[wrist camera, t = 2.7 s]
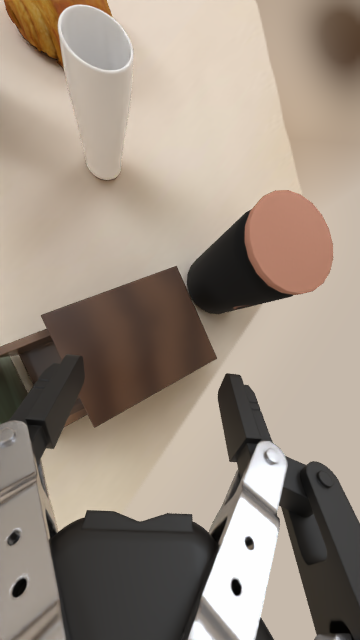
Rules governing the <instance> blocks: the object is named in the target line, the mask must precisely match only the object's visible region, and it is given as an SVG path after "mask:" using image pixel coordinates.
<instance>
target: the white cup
mask: <svg viewBox="0 0 360 640" xmlns="http://www.w3.org/2000/svg"><path fill="white" fill-rule="evenodd" d="M58 33H59V40H60V48H61V54H62V61H63V66H64V72H65V77H66V82H67V86H68V91H69V95H70V99H71V103H72V106H73V110H74V114H75V118H76V122H77V126H78V130H79V134H80V138H81V142H82V146H83V150H84V155H85V161H86V164H87V167H88V169H89V170H90V171H91V173H92V174H94V175H95V176H96V177H98V178H100V179H104V180H111V179H114V178H116V177H117V176H118V175H119V173H120V171H121V163H122V154H123V148H124V141H125V135H126V129H127V123H128V117H129V110H130V103H131V94H132V81H133V56H134V54H133V47H132V44H131V41H130V39H129V37H128V35H127V33H126V32H125V30H124V29H123V28H122V26H121V25H120V24H119V23H118V22H117V21H116V20H115V19H114V18H112V17H111V16H110V15H108V14H107V13H105V12H103V11H102V10H100V9H97V8H95V7H92V6H88V5H73V6H70V7H67V8H66V9H65V10H63V12H62V13H61V14H60V16H59V19H58Z"/></svg>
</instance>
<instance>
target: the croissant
mask: <svg viewBox="0 0 360 640" xmlns="http://www.w3.org/2000/svg"><path fill="white" fill-rule="evenodd" d="M4 2H5V6H6V10H7V12H8V15H9V17H10V18H11V20H12V21H13V23H15V24H16V26H17V28H18V29H19V31H20V33H21V34H22V36H23V37H24V38H25V39H26V40H28V41H29V43H30V44H32V45H33V46H35V47H37V49H38V50H39V52H41V51H43V52H45V53H47V55H48V56H50V57H52V58H56V59H58V62H57V63H59V64H60V65H61V66H62V67H63V68H64V66H63V61H62V54H61V48H60V40H59V33H58V19H59V16H60V14H61V13H62V12H63V10H65V9H66V8H67V7H70V6H73V5H88V6H92V7H95V8H97V9H100V10H102V11H103V12H105V13H107V14H108V15H110V16H111V17H112V15H111V11H110V9H109V6H108V3H107V0H4Z"/></svg>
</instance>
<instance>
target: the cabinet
mask: <svg viewBox="0 0 360 640" xmlns="http://www.w3.org/2000/svg"><path fill="white" fill-rule="evenodd" d="M41 317H42V319H43V321H44V324H45V326H46V328H47V330H48V332H49V334H50V336H51V338H52V340H53V343H54V345H55V347H56V349H57V351H58V353H59V355H60V357H61V359H62V360H63V358H64V357H65V356H66V355H67V354H70V355H79V356H82V357H83V362H84V371H85V379H84V383H83V386H82V388H81V391H80V393H79V397H80V399H81V401H82V403H83V406H84V408H85V410H86V412H87V414H88V416H89V418H90V420H91V422H92V424H93V427H94V428H95V427H97V426H99V425H100V424H102V423H104V422H106V421H107V420H109V419H111V418H113V417H114V416H116V415H118V414H120V413H122V412H123V411H125V410H127V409H129V408H130V407H132V406H134V405H136V404H137V403H139V402H141V401H143V400H144V399H146V398H148V397H150V396H151V395H153V394H155V393H157V392H159V391H160V390H162V389H164V388H166V387H167V386H169V385H171V384H173V383H174V382H176V381H178V380H180V379H181V378H183V377H185V376H187V375H189V374H190V373H192V372H194V371H196V370H197V369H199V368H201V367H203V366H204V365H206V364H208V363H210V362H211V361H213V360H215V359H217V357H216V355H215V353H214V350H213V348H212V346H211V343H210V341H209V339H208V337H207V334H206V332H205V330H204V327H203V325H202V323H201V321H200V318H199V316H198V314H197V312H196V309H195V307H194V305H193V302H192V300H191V298H190V296H189V293H188V291H187V289H186V286H185V284H184V282H183V280H182V277H181V275H180V273H179V271H178V268H177V266H175V267H172V268H169V269H167V270H164V271H161V272H158V273H155V274H153V275H150V276H147V277H144V278H142V279H139V280H136V281H133V282H131V283H128V284H125V285H122V286H120V287H117V288H114V289H111V290H109V291H106V292H103V293H100V294H98V295H95V296H92V297H89V298H87V299H84V300H81V301H78V302H76V303H73V304H70V305H67V306H65V307H62V308H59V309H56V310H54V311H51V312H48V313H45V314H43V315H41Z"/></svg>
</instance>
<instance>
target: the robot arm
mask: <svg viewBox="0 0 360 640" xmlns="http://www.w3.org/2000/svg"><path fill="white" fill-rule="evenodd" d="M84 379H85V371H84V362H83V357H82V356H79V355H70V354H67V355H66V356H65V357H64V358H63V360H62V361H61V363H60V364H58V363H53V364H52V365H51V366H49V367H48V368H47V369H45V370H44V371H43V373H42V374H41V376H40V377H39V379H38V381H36V383H35V384H34V386H33V388H32V389H31V390H30V391H29V393H28V394H27V396H26V397H25V399H24V400H23V402H22V403H21V404H20V406H19V407H18V409H17V410H16V412H15V413H14V414H13V416H12V417H11V418H10V420H9V421H8V422H5V423H3V424H1V425H0V640H274V639H273V637H272V635H271V634H270V632H269V630H268V629H267V627H266V625H265V624H264V622H263V620H262V618H261V617H260V616H261V611H262V607H263V602H264V597H265V593H266V588H267V583H268V579H269V574H270V570H271V565H272V560H273V556H274V551H275V546H276V542H277V537H278V532H279V527H280V520H279V518H278V517H277V509H278V505H279V506H281V508H282V511H283V515H284V518H285V522H286V526H287V529H288V533H289V537H290V540H291V543H292V547H293V551H294V555H295V558H296V562H297V565H298V569H299V573H300V576H301V580H302V583H303V587H304V590H305V594H306V598H307V601H308V605H309V609H310V612H311V616H312V619H313V623H314V627H315V630H316V634H317V636H316V637H315V639H314V640H360V523H359V521H358V519H357V517H356V515H355V513H354V511H353V509H352V507H351V505H350V503H349V501H348V499H347V497H346V495H345V493H344V491H343V489H342V487H341V485H340V483H339V481H338V479H337V477H336V476H335V475H334V474H333V472H332V471H331V470H330V469H328V468H327V467H326V466H325V465H323V464H321V463H319V462H314V461H313V462H310V463H309V464H307V465H304V464H302V463H299V462H298V461H295V460H293V459H291V458H288V457H286V456H285V455H284V453H283V452H282V451H281V449H280V448H279V447H278V446H277V445H275V444H274V443H273V442H272V440H271V437H270V434H269V432H268V429H267V426H266V423H265V421H264V419H263V415H262V413H261V411H260V407H259V405H258V402H257V399H256V396H255V393H254V392H253V391H252V390H251V388H250V387H249V386H248V385H244V384H243V381H242V378H241V376H240V375H236V374H226V375H225V377H224V379H223V381H222V384H221V386H220V388H219V391H218V402H219V408H220V413H221V419H222V423H223V429H224V435H225V440H226V445H227V451H228V456H229V461H230V462H237V464H238V470H237V472H236V474H235V477H234V479H233V481H232V484H231V486H230V488H229V490H228V493H227V495H226V498H225V500H224V502H223V504H222V507H221V509H220V510H219V512H218V514H217V516H216V517H215V519H214V521H213V524H212V525H211V528H210V530H209V532H207V531H206V530H205V529H204V528H203V527H201V526H200V525H198V524H197V523H195V522H192V514H169V513H167V514H164V515H161V516H158V517H155V518H151V519H148V520H145V521H141V522H139V521H136V520H134V519H131V518H129V517H126V516H124V515H121V514H119V513H117V512H114V511H91V510H87V512H86V515H85V518H81V519H79V520H77V521H74V522H72V523H71V524H69V525H67V526H66V527H64V528H63V529H62V530H60V531H59V532H58V528H57V524H56V519H55V515H54V512H53V508H52V505H51V502H50V498H49V493H48V489H47V484H46V480H45V475H44V471H43V466H42V462H41V457H42V455H43V453H44V451H45V449H46V448H50V449H54V447H55V445H56V443H57V441H58V439H59V436H60V434H61V432H62V430H63V428H64V425H65V423H66V421H67V419H68V417H69V415H70V412H71V410H72V408H73V406H74V404H75V401H76V399H77V397H78V395H79V393H80V391H81V388H82V386H83V383H84Z"/></svg>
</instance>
